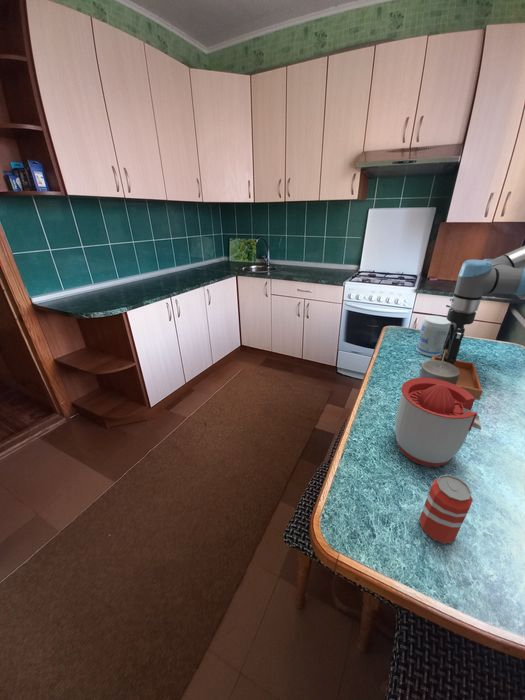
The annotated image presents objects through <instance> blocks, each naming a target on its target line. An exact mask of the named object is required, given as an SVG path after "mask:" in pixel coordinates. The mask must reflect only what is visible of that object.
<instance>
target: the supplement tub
mask: <svg viewBox="0 0 525 700" xmlns="http://www.w3.org/2000/svg"><path fill="white" fill-rule="evenodd" d="M450 324H451V322H450V321H448V320H447V317H444V316H440V315H427V316H425V317H424V319H423V322H422V324H421V328H420V331H419V335H418V339H417V343H416V347H415V348H416V349H415V350H416V352H417V353H419V354H420V355H423V356H426V357H432V356H436V357H440V356H442V353H443V350H444V348H443V347H444V344H445V343H444V342H445V340H446V337H447V334H448V331H449V328H450Z"/></svg>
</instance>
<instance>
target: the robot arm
mask: <svg viewBox="0 0 525 700" xmlns="http://www.w3.org/2000/svg"><path fill="white" fill-rule="evenodd" d="M484 294H499V295H513V296H516V295H525V245H523V246H521V247H518V248H516V249H513V250H512V251H509V252H507V253H505V254H502V255H500V256H498V257H495V258H484V259H467V260H465V261H464V262H463V263H462V265H461V267H460V270H459V273H458V276H457V281H456V284H455V287H454V291H453V295H452V298H449V302H450V306H449V309H448V311H447V315H446V318H447V320H448V321H450V322H451V324H450V328H449V331H448V334H447V337H446V340H445V342H444V343H445V345H444V346H445V347H446V348H443V350H442V353H441V355H440V357H441V360H442V357H443V354H444V350H445V349H447V350H448V352H447V356H446V358H443V359H444V362H447V363H450V364H452V365H453V364H454V362H456V360H458V359H457V358H458V354H459V353H460V352H459V351H460V347H461V344H462V341H463V338H464V336H465V331H466V328H465V326H467V325H472V324H473V323H474V321H475V318H476V315H477V311H478V309H479V307H480V303H481V301H482V297H483V295H484ZM441 360H440V361H441Z"/></svg>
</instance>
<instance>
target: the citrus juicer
mask: <svg viewBox="0 0 525 700" xmlns="http://www.w3.org/2000/svg"><path fill="white" fill-rule="evenodd" d="M400 389H401V393H400V397H399V402H398V404H397V410H396V414H395V421H394V434H395V441H396V444H397V447H398V449H399V451H400V452H401V454H403V455H404V457H406V458H407V459H408V460H410V461H412V462H413V463H415V464H418V465H421V466H425V467H429V468H437V467H441V466H444V465H445V464H447V463H449V462H450V461H451V460H452V459H453V458H454V457H455V456H456V455H457V454H458V452H459V451H460V450H461V449H462V447H463V445H464V443H465V441H466V438H467V436H468V435H469V432H471V431H472V428H474V429H477V430H479V431H482V429H483V427H482V423H481V420H480V416H479V414H478V412H477V411H472V409H473V406H474V402H475V400H476V399H475V398H474V397H473V396H472V395H471V394H470V393H469V392H467V391H466V390H464V389H463V388H461V387H459V386H457V385H454V384H452V383H449V382H446V381H443V380H439V379H433V378H419V377H415V378H414V377H413V378H411V379H408V380H406V381H405V382H404V383H403V384H402V385H401V388H400Z"/></svg>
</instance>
